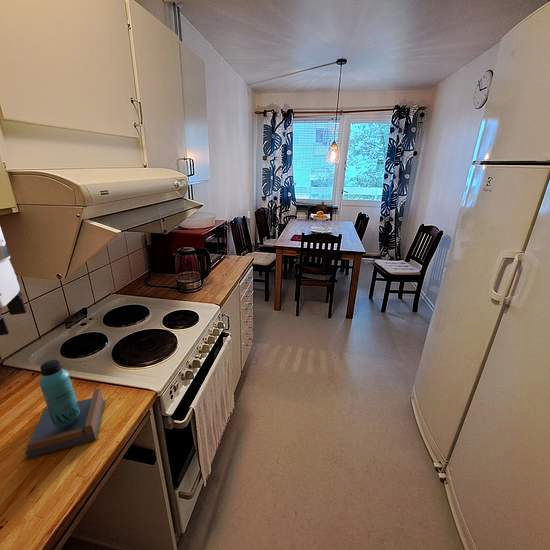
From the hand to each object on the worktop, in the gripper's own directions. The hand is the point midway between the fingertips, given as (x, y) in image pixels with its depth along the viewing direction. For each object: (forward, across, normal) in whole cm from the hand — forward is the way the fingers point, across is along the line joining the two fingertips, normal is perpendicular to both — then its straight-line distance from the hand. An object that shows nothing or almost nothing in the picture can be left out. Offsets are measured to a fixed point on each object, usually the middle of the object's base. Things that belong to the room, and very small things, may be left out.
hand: (10, 323), depth 67 cm
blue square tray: (+34, +1, +5) cm, 35 cm away
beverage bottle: (+32, +2, +6) cm, 33 cm away
